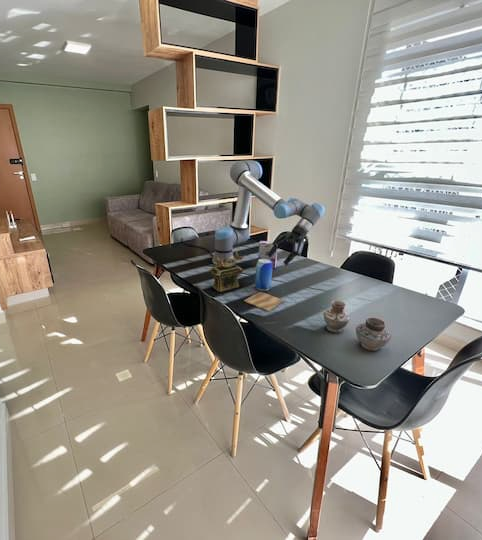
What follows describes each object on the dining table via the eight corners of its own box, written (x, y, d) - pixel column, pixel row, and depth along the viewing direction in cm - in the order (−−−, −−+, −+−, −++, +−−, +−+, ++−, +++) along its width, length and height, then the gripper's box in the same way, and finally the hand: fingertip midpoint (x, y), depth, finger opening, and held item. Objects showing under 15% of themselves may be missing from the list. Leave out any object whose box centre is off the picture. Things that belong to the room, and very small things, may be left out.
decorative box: (217, 293, 151) (217, 258, 144) (208, 286, 159) (208, 253, 152) (248, 285, 159) (250, 252, 152) (238, 279, 167) (239, 247, 160)
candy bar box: (276, 266, 186) (278, 241, 180) (274, 268, 182) (277, 244, 176) (258, 264, 190) (260, 240, 184) (257, 266, 186) (258, 242, 180)
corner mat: (243, 301, 143) (243, 300, 142) (260, 292, 152) (260, 291, 151) (267, 311, 133) (267, 310, 133) (283, 301, 142) (284, 300, 142)
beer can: (261, 293, 151) (263, 264, 145) (251, 287, 158) (253, 259, 152) (273, 289, 154) (276, 261, 149) (263, 283, 161) (265, 257, 155)
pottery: (330, 319, 126) (334, 295, 122) (392, 347, 107) (400, 320, 103) (315, 328, 120) (319, 303, 115) (378, 360, 101) (385, 331, 97)
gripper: (322, 239, 145) (296, 271, 145) (289, 228, 166) (266, 257, 166) (316, 229, 141) (288, 263, 141) (282, 220, 162) (259, 249, 162)
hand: (276, 260), depth 153 cm, fingers open, 13 cm apart
